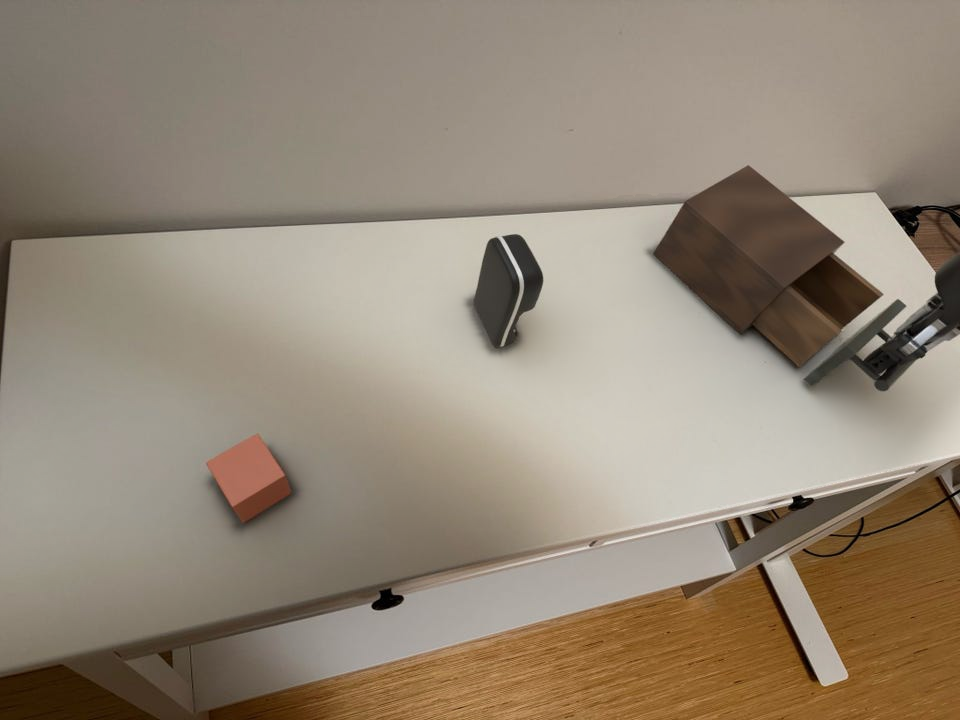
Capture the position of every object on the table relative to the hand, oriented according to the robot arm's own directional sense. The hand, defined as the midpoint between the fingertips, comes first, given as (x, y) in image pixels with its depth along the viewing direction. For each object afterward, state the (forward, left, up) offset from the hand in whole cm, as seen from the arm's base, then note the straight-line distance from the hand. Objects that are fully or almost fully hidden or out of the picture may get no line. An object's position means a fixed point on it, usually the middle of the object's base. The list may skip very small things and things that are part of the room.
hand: (872, 365), depth 65 cm
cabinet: (+19, 0, -4) cm, 20 cm away
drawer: (+7, 0, -3) cm, 7 cm away
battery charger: (+29, +30, -4) cm, 42 cm away
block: (+27, +60, -4) cm, 66 cm away
